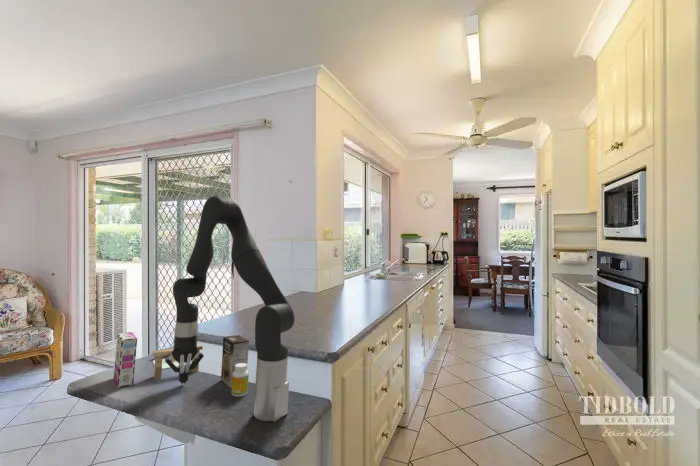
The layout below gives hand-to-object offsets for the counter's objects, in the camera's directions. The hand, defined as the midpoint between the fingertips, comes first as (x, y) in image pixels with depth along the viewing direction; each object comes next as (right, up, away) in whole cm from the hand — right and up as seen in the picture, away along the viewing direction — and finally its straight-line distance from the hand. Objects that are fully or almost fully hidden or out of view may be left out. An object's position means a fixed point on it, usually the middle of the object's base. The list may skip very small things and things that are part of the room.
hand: (183, 382), depth 119 cm
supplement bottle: (+22, -2, -4) cm, 22 cm away
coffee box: (+16, -2, +5) cm, 17 cm away
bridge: (-7, -1, +10) cm, 13 cm away
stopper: (-21, -1, +28) cm, 34 cm away
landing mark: (-16, -1, +21) cm, 27 cm away
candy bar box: (-22, 0, +1) cm, 22 cm away
